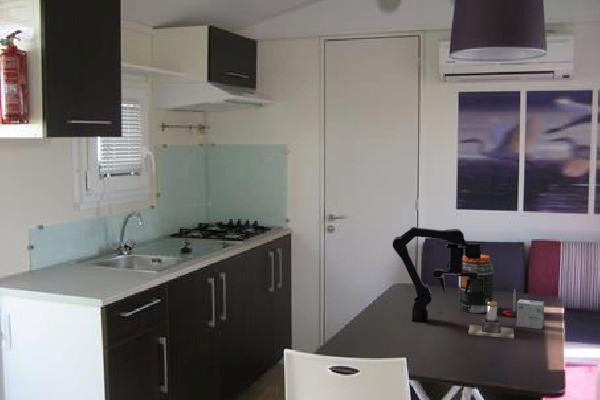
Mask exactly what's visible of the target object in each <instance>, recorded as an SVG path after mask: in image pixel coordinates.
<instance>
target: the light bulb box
mask: <svg viewBox="0 0 600 400" xmlns="http://www.w3.org/2000/svg"><path fill="white" fill-rule="evenodd" d="M516 303H517V304H516V311H517V317H516V327H521V328H528V329H529V328H532V329H538V330H542V329H543V327H544V317H545V316H544V314H545V312H544V309H545V302H544V301H539V300H536V301H535V300H528V299H519V300H518V301H517V302H516Z"/></svg>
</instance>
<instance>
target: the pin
mask: <svg viewBox="0 0 600 400" xmlns="http://www.w3.org/2000/svg"><path fill="white" fill-rule="evenodd" d="M497 312H498V302H497V301H494V300H492V301H487V312H486V318H487V322H493V323H497V319H498V313H497Z"/></svg>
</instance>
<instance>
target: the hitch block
mask: <svg viewBox="0 0 600 400" xmlns="http://www.w3.org/2000/svg"><path fill="white" fill-rule="evenodd" d="M468 328H469V329H468V335H471V336H482V337H495V338H496V337H497V338H503V339H504V338H506V339H515V331H514V330H515V329H514V328H513V327H503V326H502V319H501V318H497V323H493V322H487V317H482V319H481V325H479V324H469V327H468Z"/></svg>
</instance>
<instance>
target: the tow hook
mask: <svg viewBox="0 0 600 400" xmlns="http://www.w3.org/2000/svg"><path fill="white" fill-rule="evenodd" d="M516 298H517V297H516V288H513V293H512V305H511V310H503V311H502V314H503V315H505V317H511V318H517V305H516Z"/></svg>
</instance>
